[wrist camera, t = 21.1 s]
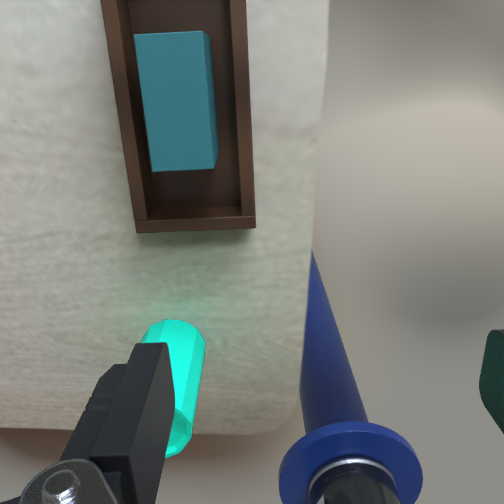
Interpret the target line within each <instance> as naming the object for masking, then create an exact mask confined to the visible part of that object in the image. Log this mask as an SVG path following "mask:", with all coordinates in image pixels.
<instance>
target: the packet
mask: <svg viewBox="0 0 504 504" xmlns="http://www.w3.org/2000/svg"><path fill="white" fill-rule="evenodd" d="M134 41H135V49H136V56H137V63H138V71H139V78H140V85H141V93H142V100H143V107H144V115H145V122H146V129H147V137H148V144H149V152H150V159H151V166H152V172H160V171H180V170H201V169H214V167H215V164H216V161H217V159H218V156H219V153H220V146H219V133H218V120H217V107H216V94H215V80H214V67H213V54H212V41H211V37H210V36H209V35H207V34H206V33H204V32H203V31H189V32H171V33H153V34H135V35H134Z"/></svg>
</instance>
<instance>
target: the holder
mask: <svg viewBox="0 0 504 504" xmlns="http://www.w3.org/2000/svg"><path fill="white" fill-rule="evenodd" d="M101 6H102V13H103V19H104V26H105V32H106V39H107V45H108V52H109V58H110V65H111V71H112V78H113V84H114V91H115V97H116V104H117V110H118V117H119V123H120V130H121V136H122V143H123V149H124V156H125V162H126V169H127V175H128V182H129V188H130V195H131V201H132V208H133V214H134V220H135V227H136V233H157V232H180V231H203V230H226V229H249V228H256V215H255V192H254V170H253V148H252V125H251V103H250V81H249V59H248V37H247V15H246V0H101ZM189 31H203V32H204V33H206V34H207V35H209V36H210V37H211V41H212V54H213V67H214V80H215V94H216V107H217V120H218V133H219V146H220V153H219V156H218V159H217V161H216V164H215V167H214V169H201V170H180V171H160V172H152V166H151V159H150V152H149V144H148V137H147V129H146V122H145V115H144V107H143V100H142V93H141V85H140V78H139V71H138V63H137V56H136V49H135V41H134V35H135V34H153V33H171V32H189Z"/></svg>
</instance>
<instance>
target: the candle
mask: <svg viewBox="0 0 504 504" xmlns="http://www.w3.org/2000/svg"><path fill="white" fill-rule="evenodd" d="M155 342H166V343H167V344H168V348H169V354H170V361H171V368H172V376H173V383H174V390H175V413H174V419H173V424H172V428H171V433H170V437H169V442H168V446H167V451H166V455H165V458H168V457H170V456H173V455H176V454H178V453H180V452H181V451H182V449H183V448H184V447H185V445H186V444H187V443H188V441H189V440H190V439H191V435H192V429H193V423H194V417H195V411H196V405H197V398H198V392H199V386H200V380H201V374H202V368H203V362H204V356H205V341H204V339H203V337H202V336H201V334H200V332H199V331H198V329H197V328H195V327H193V326H192V325H190V324H188V323H186V322H185V321H181V320H168V319H166V320H163V321H161V322H159V323H156V324H154V325H151V327H150V328H149V330H148V331H147V332H146V334H145V335H144V337H143V338H142V341H141V343H155Z"/></svg>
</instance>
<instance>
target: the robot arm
mask: <svg viewBox="0 0 504 504" xmlns="http://www.w3.org/2000/svg"><path fill="white" fill-rule="evenodd" d="M479 389H480V395H481V399H482V401H483V403H484V406H485V407H486V409H487V410H488V412H489V413H490V415H491V416H492V418H493V419H494V421H495V422H496V424H497V425H498V427H499V428H500V429H501V431H502V432H503V434H504V329H503V330H492V331H490V333H489V334H488V337H487V341H486V347H485V353H484V358H483V363H482V369H481V375H480V380H479ZM85 408H86V409H85V411H83V413H82V415H81V418H80V420H79V422H78V424H77V426H76V428H75V430H74V432H73V434H72V436H71V438H70V440H69V442H68V444H67V446H66V448H65V451H64V453H63V455H62V457H61V459H60V461H59V462H57V463H55V464H53V465H51V466H49V467H47V468H45V469H44V470H43V471H41V472H40V473H38V474H37V475H36V476H35V477H34V478H33V479H32V480H31V481H30V482H29V483H28V485H27V486H26V487H25V489H24V490H23V492H22V494H21V496H19V497H16V498H14V499H11V500H8V501H5V502H1V503H0V504H155V500H156V495H157V491H158V487H159V482H160V477H161V473H162V468H163V464H164V460H165V455H166V451H167V446H168V442H169V437H170V433H171V428H172V424H173V419H174V413H175V390H174V383H173V376H172V368H171V361H170V354H169V348H168V344H167V343H166V342H155V343H137V344H136V345H135V346H134V348H133V351H132V353H131V356H130V358H129V360H128V363H127V364H114V365H113V366H112V367H111V368H110V369H109V370H108V371H107V372H106V373H105V374H104V375H103V376H102V377H100V379H99V381H98V383H97V385H96V387H95V389H94V391H93V393H92V397H90V399H89V401H88V403H87V405H86V407H85ZM308 496H309V502H310V504H401V501H400V498H399V495H398V492H397V487H396V483H395V480H394V477H393V475H392V472H391V471H390V469H389V468H388V467H387V466H386V465H385V464H384V463H383V462H381V461H379V460H378V459H376V458H373V457H370V456H366V455H359V454H350V455H343V456H339V457H335V458H333V459H330V460H328V461H326V462H325V463H323V464H322V465H320V466H319V467H318V468H317V469H316V470H315V471H314V472H313V474H312V475H311V477H310V479H309V482H308Z"/></svg>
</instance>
